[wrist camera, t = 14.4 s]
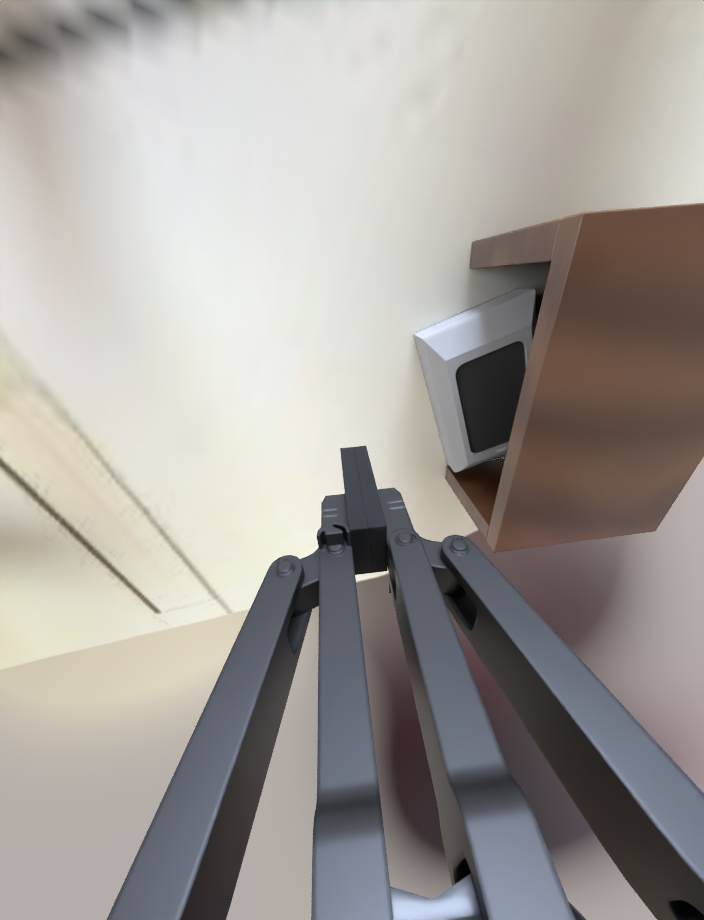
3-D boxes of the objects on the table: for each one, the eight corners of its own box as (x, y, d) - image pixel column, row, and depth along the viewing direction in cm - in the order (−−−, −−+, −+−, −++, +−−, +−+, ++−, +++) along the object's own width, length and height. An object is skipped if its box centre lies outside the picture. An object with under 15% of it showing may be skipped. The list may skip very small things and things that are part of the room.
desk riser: (471, 241, 23) (583, 212, 14) (649, 227, 24) (877, 188, 14) (445, 478, 35) (493, 553, 26) (563, 464, 36) (655, 531, 26)
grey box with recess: (545, 289, 22) (549, 446, 30) (517, 288, 25) (527, 431, 33) (425, 340, 23) (459, 480, 31) (413, 333, 26) (446, 462, 34)
